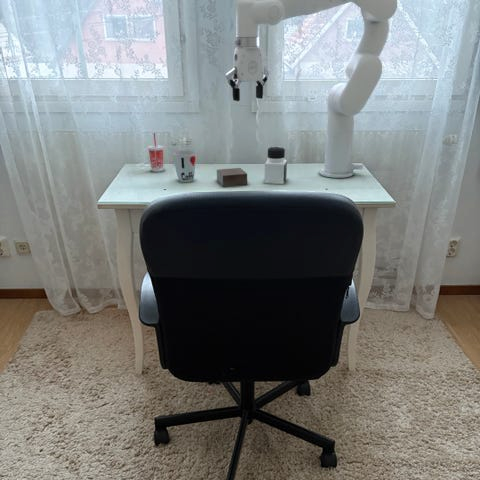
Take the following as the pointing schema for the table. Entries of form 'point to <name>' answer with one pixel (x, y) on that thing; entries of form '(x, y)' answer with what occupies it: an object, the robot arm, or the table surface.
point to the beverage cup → (156, 157)
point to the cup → (185, 165)
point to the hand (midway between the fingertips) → (248, 99)
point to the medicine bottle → (276, 166)
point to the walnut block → (231, 177)
